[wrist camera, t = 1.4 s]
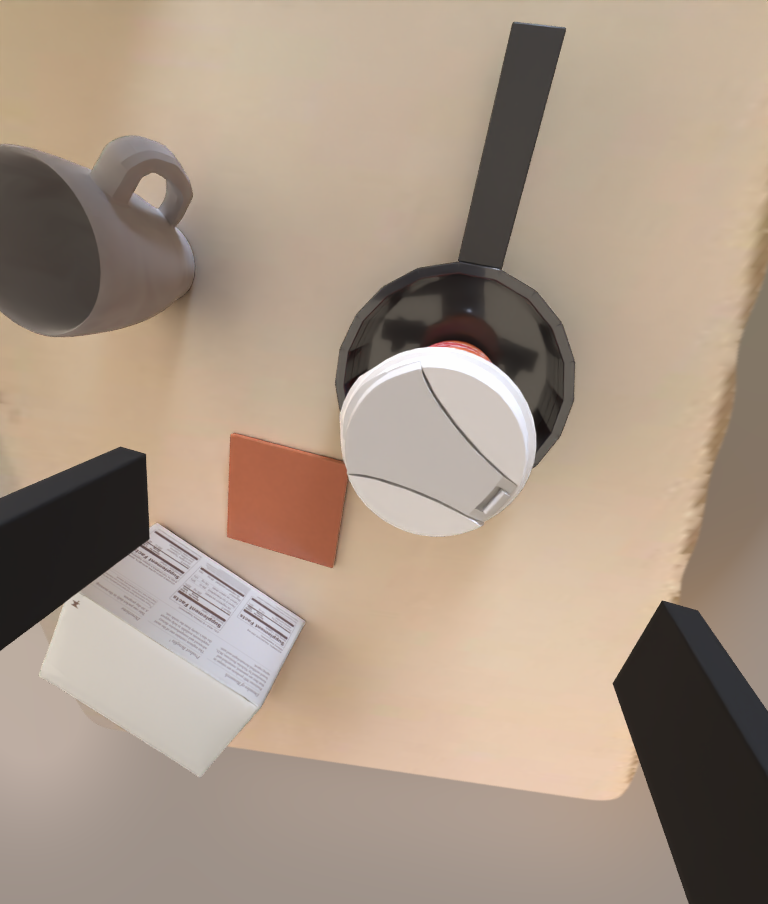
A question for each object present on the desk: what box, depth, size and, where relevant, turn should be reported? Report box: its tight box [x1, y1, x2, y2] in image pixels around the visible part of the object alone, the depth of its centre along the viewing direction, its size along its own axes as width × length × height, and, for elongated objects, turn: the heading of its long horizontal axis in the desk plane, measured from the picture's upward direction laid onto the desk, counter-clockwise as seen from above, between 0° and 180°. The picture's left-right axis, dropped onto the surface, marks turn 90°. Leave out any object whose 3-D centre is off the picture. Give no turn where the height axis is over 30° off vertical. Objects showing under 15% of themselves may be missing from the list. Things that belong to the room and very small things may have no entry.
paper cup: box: [340, 340, 536, 537], centre depth 21 cm, size 8×8×14 cm
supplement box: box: [39, 523, 305, 778], centre depth 37 cm, size 17×13×9 cm
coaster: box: [227, 433, 348, 568], centre depth 34 cm, size 10×10×1 cm
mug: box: [0, 136, 195, 337], centre depth 24 cm, size 12×9×10 cm
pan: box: [335, 262, 575, 468], centre depth 26 cm, size 14×14×4 cm
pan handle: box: [458, 22, 566, 270], centre depth 21 cm, size 10×2×1 cm, turn 169°
